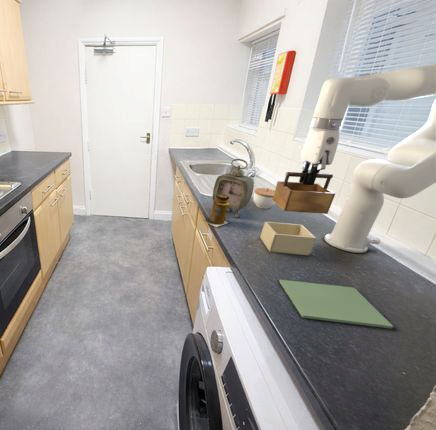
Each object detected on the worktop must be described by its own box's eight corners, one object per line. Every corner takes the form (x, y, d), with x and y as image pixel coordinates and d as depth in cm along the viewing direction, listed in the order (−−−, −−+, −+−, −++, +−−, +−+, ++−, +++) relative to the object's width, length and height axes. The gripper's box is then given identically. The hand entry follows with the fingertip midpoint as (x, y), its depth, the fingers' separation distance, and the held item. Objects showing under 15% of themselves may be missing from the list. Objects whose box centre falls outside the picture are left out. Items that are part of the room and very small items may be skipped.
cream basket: (295, 240, 100) (301, 224, 97) (309, 255, 91) (316, 238, 88) (259, 237, 102) (264, 221, 99) (269, 251, 93) (275, 234, 90)
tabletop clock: (209, 210, 125) (219, 157, 114) (218, 205, 131) (229, 154, 120) (239, 220, 116) (254, 163, 105) (248, 214, 121) (262, 160, 111)
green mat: (353, 289, 76) (354, 287, 75) (392, 328, 63) (393, 326, 63) (279, 281, 78) (279, 279, 78) (302, 317, 66) (303, 315, 65)
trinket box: (275, 205, 132) (281, 187, 128) (274, 212, 124) (279, 193, 120) (252, 200, 138) (256, 183, 134) (249, 207, 129) (254, 189, 125)
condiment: (228, 222, 113) (235, 196, 108) (216, 227, 109) (222, 200, 104) (214, 216, 118) (219, 191, 113) (202, 220, 114) (206, 194, 109)
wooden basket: (311, 202, 94) (323, 170, 89) (328, 214, 85) (342, 178, 80) (271, 199, 95) (280, 168, 90) (283, 211, 86) (294, 176, 81)
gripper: (357, 128, 71) (332, 192, 79) (324, 122, 85) (306, 177, 93) (327, 127, 72) (305, 191, 80) (299, 121, 86) (283, 176, 94)
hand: (306, 183), depth 86 cm, fingers closed on wooden basket, 1 cm apart
